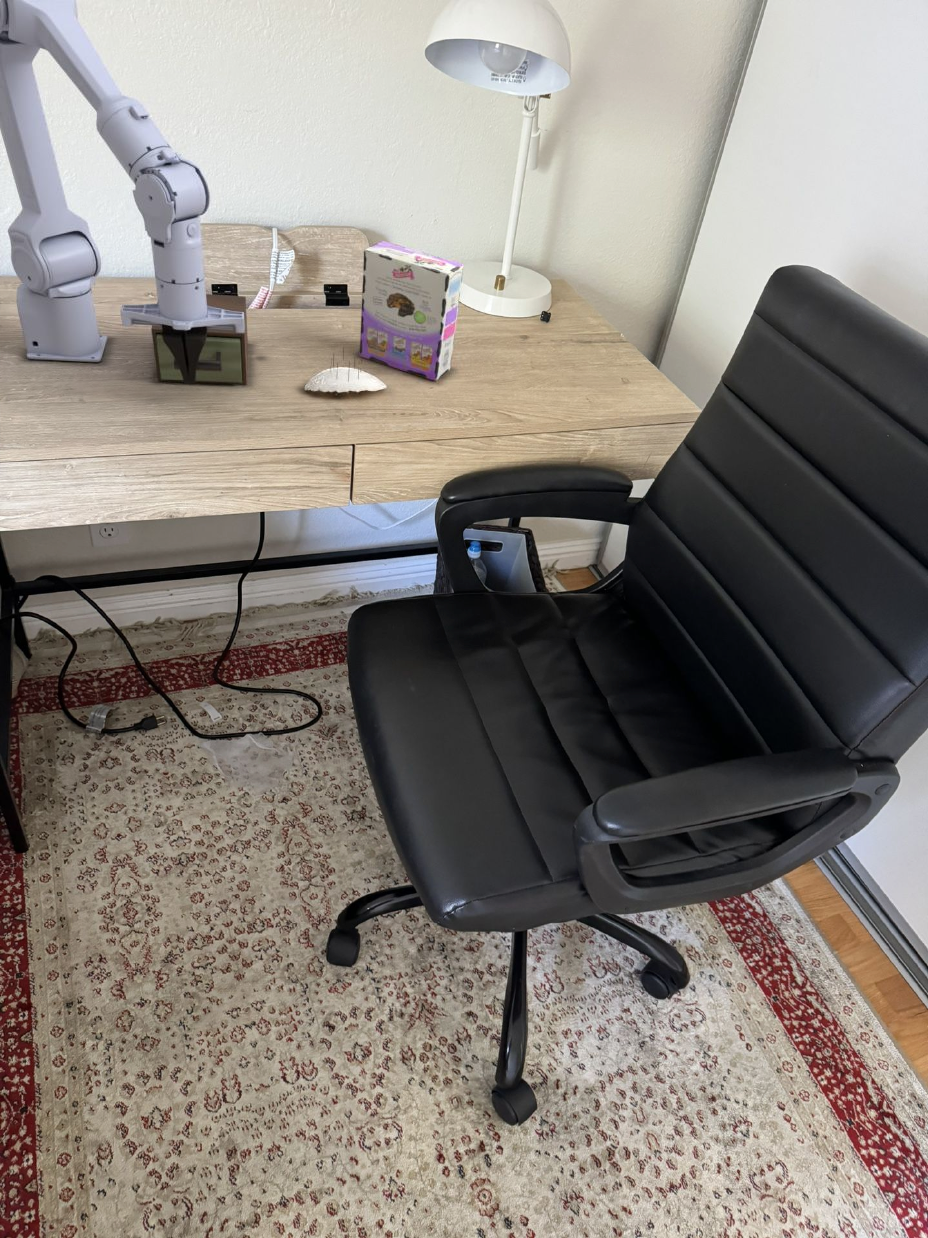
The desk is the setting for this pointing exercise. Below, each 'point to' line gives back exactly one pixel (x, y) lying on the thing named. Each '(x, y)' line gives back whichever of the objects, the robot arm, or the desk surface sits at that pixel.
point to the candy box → (409, 309)
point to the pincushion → (344, 380)
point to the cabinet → (216, 333)
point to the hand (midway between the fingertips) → (190, 380)
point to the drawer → (206, 360)
